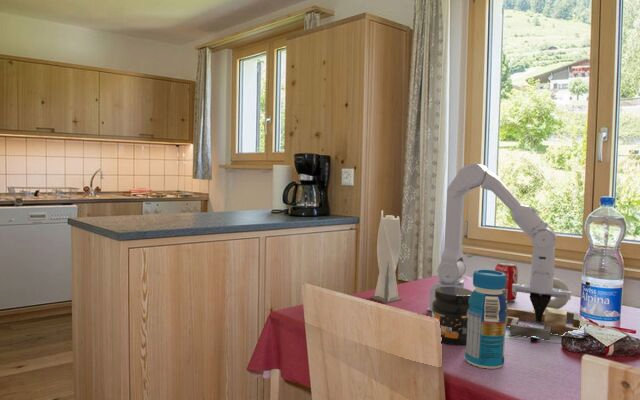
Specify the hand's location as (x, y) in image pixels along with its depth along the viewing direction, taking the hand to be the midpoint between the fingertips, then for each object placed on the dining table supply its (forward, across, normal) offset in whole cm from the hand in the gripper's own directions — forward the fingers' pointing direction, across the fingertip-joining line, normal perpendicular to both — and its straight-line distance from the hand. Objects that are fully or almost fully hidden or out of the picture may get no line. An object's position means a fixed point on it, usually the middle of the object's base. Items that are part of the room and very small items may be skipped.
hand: (538, 321), depth 137 cm
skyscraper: (+2, -45, +3) cm, 45 cm away
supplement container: (+2, -18, -23) cm, 29 cm away
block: (+1, +4, 0) cm, 4 cm away
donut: (+2, +2, +21) cm, 21 cm away
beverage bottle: (+2, -8, -35) cm, 36 cm away
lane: (+1, 0, 0) cm, 1 cm away
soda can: (+2, -12, +24) cm, 27 cm away
